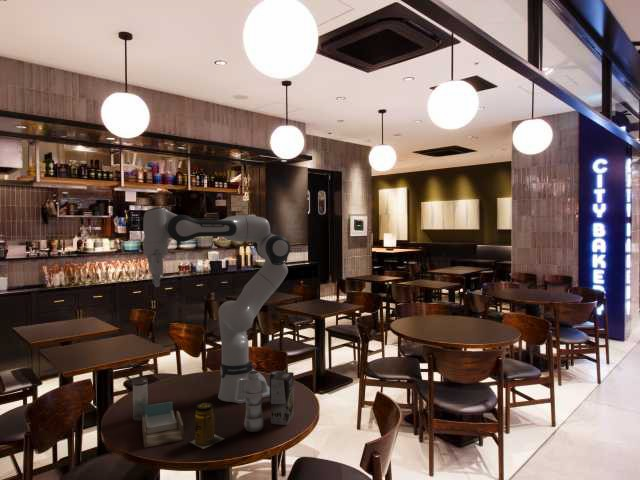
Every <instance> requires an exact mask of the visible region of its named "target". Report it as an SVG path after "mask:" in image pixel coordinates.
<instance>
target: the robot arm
mask: <svg viewBox="0 0 640 480" xmlns="http://www.w3.org/2000/svg"><path fill="white" fill-rule="evenodd" d="M142 220H143V221H142V229H143V230H142V231H143V234H144V235H143V236H144V237H143V245H142V246H143V247H142V249H143V254H144V255H146V259H147V264H148V269H149V273H151V277H152V284H153V285H154V287H155V288H159V287H160V286H161V276H163V275H164V259H165V255H167V254H168V253H169V247H168V246H169V239H172V240H175V241H176V242H179V243H180V242H181V243H182V242H188V241H190V240H193V239H195V238H198V237H219V238H224V239H226V240H228V241H232V242H240V243H243V242H252V243H253V244H254V247H255V251H256V253H257V255H258V256H259V257H260V258H262V259H263V260H264V263H263V264H262V267H261V268H259V270H258V271H257V272H256V273H255V274H254V275H253V276H252V277H251V279H249V281H248V282H246V284H245V285H244V286H243V289H242V291H241V293H240V294H239V295H238V297H237V299H236V300H227V301H225V302H223V303H222V304H221V305H220V306H219V308H218V312H217V313H218V314H217V315H218V323H219V333H220V342H221V362H220V367H219V369H220V371H219V372H220V377H221V378H220V385H219V391H218V395H217V398H218V399H219V400H220V401H223V402H228V403H235V404H244V403H245V404H246V400H245V393H244V386H245V384H246V382H247V381H248V380H249V379H248V372H250V371H256V368H257V364H256V363H255V362H253V361H252V360H250V358H249V350H250V348H249V344H250V343H249V339H248V336H247V335H248V334H247V331H248V330H250V328H251V327H252V325H253V323H254V320H255V318H256V317H257V315H258V313H259V312H260V310H261V309H262V307H263V306H264V304H265V303H266V302H267V300H269V299H270V297H271V296H272V295H273V294H274V293H275V292H276V291H277V290H278V288H280V286H281V284H282V283H283V282H284V280H285V278H286V277H287V275H288V273H289V269H288V266H287V264H286V263H287V261H288V258H289V255H290V252H291V243H290V241H289V240H288V239H287V238H286V237H285V236H284V235H280V234H273V233H272V232H271V225H270V223H269V221H268V220H267V219H266V218H265V217H262V216H255V215H243V214H242V215H241V214H239V215H231V216H227V217H225V218H223V219H218V220H217V219H209V220H207V219H196V218H193V217H191V216H190V215H186V214H176V213H173V212H172V211H170V210H168V209H166V207H163V206H162V207H154V208H149V209H147V210H146V211H145V212H144V214H143V219H142ZM258 379H259V381H260V382H261V384H262V386H263V392H262V399H263V398H264V399H265V398H267V397H270V385H268V383H267V380H266V377H264V375H262V374H261V373H260V372H259V378H258Z"/></svg>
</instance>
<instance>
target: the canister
mask: <svg viewBox="0 0 640 480" xmlns="http://www.w3.org/2000/svg"><path fill="white" fill-rule="evenodd" d="M131 383H132V420H134V421H142V417H144V418H145V406H146V405H149V403H148V399H149V397H148V392H149V390H148V378H147V377H137V378H134V379H132V381H131Z"/></svg>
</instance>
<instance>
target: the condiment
mask: <svg viewBox="0 0 640 480" xmlns="http://www.w3.org/2000/svg"><path fill="white" fill-rule="evenodd" d="M195 407H196V408H195V415H194V426H195V427H194V440H192V441H190V443H191V444H193V445H194V446H196V447H198V448H201V449H202V450H203V449H206V448H208V447H211V446H213V445H215V444H216V443H219V442H222V441H223V440H225V438H223V437H221V436H219V435H217V434H215V413H214V408H213V407H214V406H213V404H212V403H209V402H202V403H200V404H197V406H195Z"/></svg>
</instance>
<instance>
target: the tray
mask: <svg viewBox="0 0 640 480" xmlns="http://www.w3.org/2000/svg"><path fill="white" fill-rule="evenodd" d="M173 404H174V402H173V401H166V402H160V403H154V404H153V403H151V404H148V405H146V406H145V425H146V432H147V434H150V433H155V432H160V431H166V430H171V429H177V418H176V416H175V415H176V414H175V412H174V408H173V407H174V405H173Z"/></svg>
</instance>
